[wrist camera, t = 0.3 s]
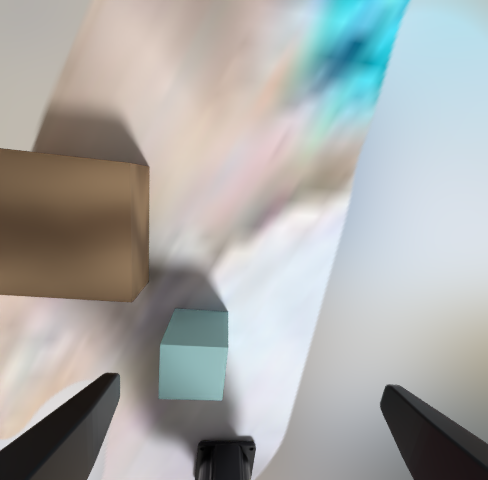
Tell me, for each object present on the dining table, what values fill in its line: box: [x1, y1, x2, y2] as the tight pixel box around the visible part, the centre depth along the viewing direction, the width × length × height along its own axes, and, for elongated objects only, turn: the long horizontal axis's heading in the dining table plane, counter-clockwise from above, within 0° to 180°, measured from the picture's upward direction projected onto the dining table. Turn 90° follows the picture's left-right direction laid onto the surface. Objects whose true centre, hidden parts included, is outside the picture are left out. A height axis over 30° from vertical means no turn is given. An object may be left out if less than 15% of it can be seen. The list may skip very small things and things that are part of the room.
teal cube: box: [159, 308, 228, 401], centre depth 20 cm, size 5×5×5 cm
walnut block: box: [0, 148, 149, 302], centre depth 17 cm, size 10×10×4 cm
